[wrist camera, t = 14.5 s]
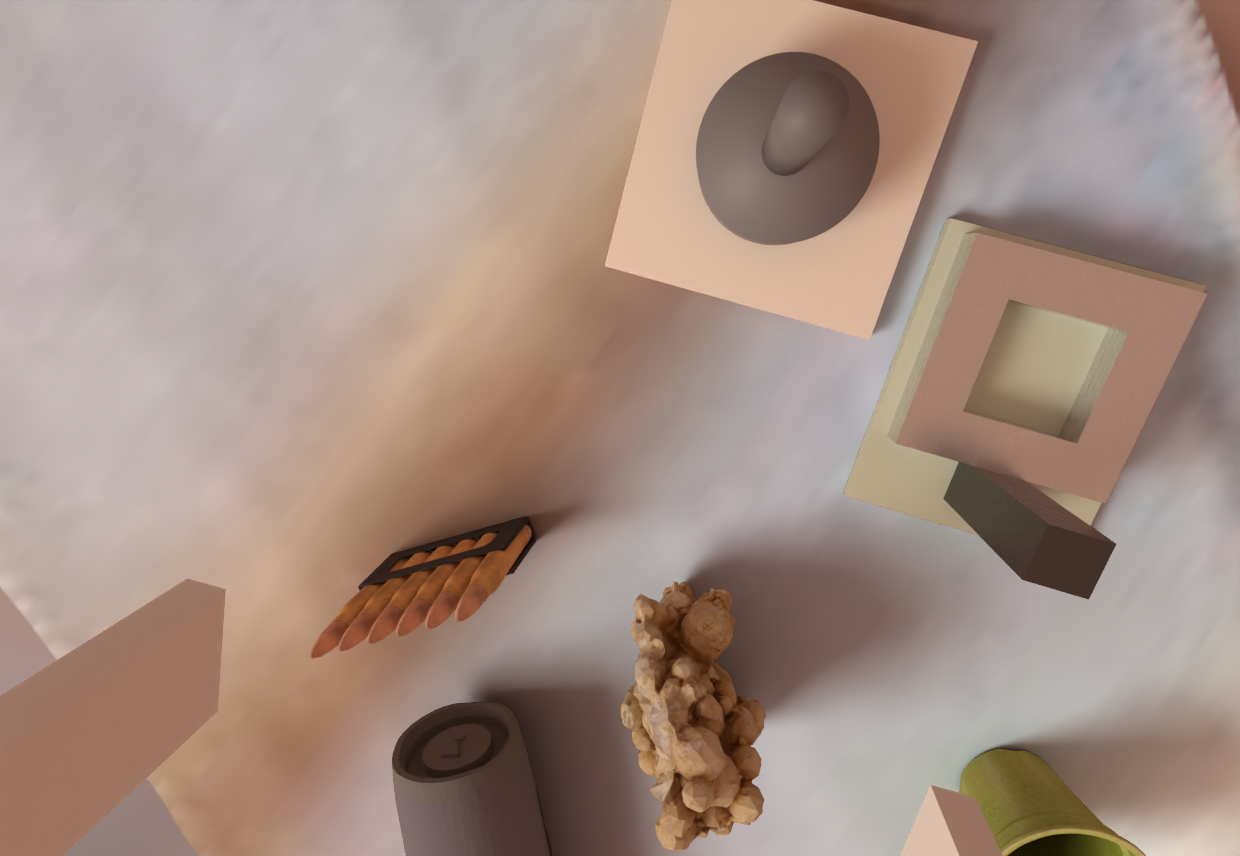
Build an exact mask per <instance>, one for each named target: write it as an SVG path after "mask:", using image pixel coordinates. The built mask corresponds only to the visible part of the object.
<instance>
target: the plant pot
mask: <svg viewBox="0 0 1240 856" xmlns="http://www.w3.org/2000/svg"><path fill="white" fill-rule="evenodd" d="M959 793H961V794H964V795H968V796H972V797H975V798H976V801H977V803H978V805H979V807H980V809H981V811H982V813H983V815H984V817H985V819H986V821H987V824H988V826H989V828H990V830H991V832H992V834H993V836H994V838H995V840H996V842H997V844H998V846H999V849H1000V851H1001V853H1002V855H1003V856H1146V855H1145V854H1144V853H1143V852H1142V851H1141V850H1140V849H1139V848H1138V847H1136V846H1135V845H1134V844H1132V843H1131V842H1129V841H1128V840H1126V839H1124V838H1122V837H1121V836H1119V835H1118V834H1116V833H1115V832H1114V831H1113V830H1111V829H1110V828H1108V827H1107V826H1105V825H1103V824H1102V822H1101V821H1100V820H1099V819H1098V818H1097V817H1096V816H1095V815H1094V814H1093V813H1092V812H1091V811H1090V810H1089V809H1088V808H1087V807H1086V806H1085V805H1084V804H1083V803H1082V802H1081V801H1080V799H1079V798H1078V797H1077V796H1076V795H1075V794H1074V793H1073V792H1072V791H1071V790H1070V789H1069V788H1068V787H1067V786H1066V784H1065V783H1064V782H1063V781H1062V780H1061V779H1060V778H1059V777H1058V776H1057V774H1056V773H1055V772H1054V771H1053V770H1052V769H1051V768H1050V767H1049V766H1048V765H1047V764H1046V762H1044V761H1043V760H1042V759H1041V758H1039V757H1038V756H1036V755H1034V754H1033V753H1030V752H1028V751H1025V750H1022V751H1011V750H1004V749H995V750H991V751H988V752H985V753H983V754H981V755H979V756H978V757H976V758H975V759H974V760H972V761H971V762H970V763H969V764H968V765H967V766H966V768H965V769H964V771H963V773H962V776H961V783H960V792H959Z"/></svg>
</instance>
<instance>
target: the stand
mask: <svg viewBox="0 0 1240 856" xmlns="http://www.w3.org/2000/svg"><path fill="white" fill-rule="evenodd" d="M977 44H978V41H975V40H971V39H966V38H962V37H958V36H954V35H950V34H946V33H942V32H938V31H934V30H930V29H926V28H922V27H918V26H914V25H910V24H906V23H902V22H898V21H894V20H890V19H886V18H882V17H878V16H874V15H870V14H866V13H862V12H858V11H854V10H850V9H846V8H842V7H838V6H834V5H830V4H826V3H822V2H818V1H814V0H672V2H671V6H670V10H669V14H668V18H667V22H666V26H665V30H664V34H663V38H662V42H661V45H660V49H659V53H658V57H657V61H656V65H655V69H654V73H653V77H652V81H651V85H650V89H649V93H648V97H647V101H646V105H645V109H644V113H643V117H642V121H641V125H640V129H639V133H638V137H637V141H636V145H635V148H634V152H633V156H632V160H631V164H630V168H629V172H628V176H627V180H626V184H625V188H624V192H623V196H622V200H621V204H620V208H619V212H618V216H617V220H616V224H615V228H614V232H613V236H612V240H611V244H610V247H609V251H608V255H607V259H606V263H605V266H606V267H610V268H613V269H617V270H621V271H624V272H628V273H631V274H635V275H638V276H642V277H646V278H649V279H653V280H656V281H660V282H664V283H667V284H671V285H674V286H678V287H682V288H685V289H689V290H692V291H696V292H700V293H703V294H707V295H710V296H714V297H718V298H721V299H725V300H728V301H732V302H735V303H739V304H743V305H746V306H750V307H753V308H757V309H761V310H764V311H768V312H771V313H775V314H779V315H782V316H786V317H789V318H793V319H797V320H800V321H804V322H807V323H811V324H815V325H818V326H822V327H825V328H829V329H832V330H836V331H840V332H843V333H847V334H850V335H854V336H858V337H861V338H865V339H868V340H870V338H871V335H872V332H873V330H874V327H875V324H876V321H877V319H878V316H879V313H880V310H881V308H882V305H883V302H884V299H885V297H886V294H887V291H888V288H889V286H890V283H891V280H892V277H893V275H894V272H895V269H896V266H897V264H898V261H899V258H900V255H901V253H902V250H903V247H904V244H905V242H906V239H907V236H908V233H909V231H910V228H911V225H912V222H913V220H914V217H915V214H916V211H917V209H918V206H919V203H920V200H921V198H922V195H923V192H924V189H925V187H926V184H927V181H928V178H929V176H930V173H931V170H932V167H933V165H934V162H935V159H936V156H937V154H938V151H939V148H940V145H941V143H942V140H943V137H944V134H945V132H946V129H947V126H948V123H949V121H950V118H951V115H952V112H953V110H954V107H955V104H956V101H957V99H958V96H959V93H960V90H961V88H962V85H963V82H964V79H965V77H966V74H967V71H968V68H969V66H970V63H971V60H972V57H973V55H974V52H975V49H976V46H977Z"/></svg>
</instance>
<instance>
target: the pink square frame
mask: <svg viewBox="0 0 1240 856" xmlns="http://www.w3.org/2000/svg"><path fill="white" fill-rule="evenodd" d="M1206 296H1207V293H1203V292H1199V291H1195V290H1192V289H1188V288H1184V287H1180V286H1177V285H1173V284H1169V283H1165V282H1162V281H1158V280H1154V279H1150V278H1146V277H1143V276H1139V275H1135V274H1131V273H1128V272H1124V271H1120V270H1116V269H1113V268H1109V267H1105V266H1101V265H1097V264H1094V263H1090V262H1086V261H1082V260H1079V259H1075V258H1071V257H1067V256H1064V255H1060V254H1056V253H1052V252H1048V251H1045V250H1041V249H1037V248H1033V247H1030V246H1026V245H1022V244H1018V243H1015V242H1011V241H1007V240H1003V239H999V238H996V237H992V236H988V235H984V234H981V233H970V234H964V236H963V238H962V241H961V243H960V246H959V249H958V251H957V254H956V256H955V259H954V262H953V264H952V267H951V269H950V272H949V275H948V277H947V280H946V282H945V285H944V288H943V290H942V293H941V296H940V298H939V301H938V303H937V306H936V309H935V311H934V314H933V316H932V319H931V322H930V324H929V327H928V329H927V332H926V335H925V337H924V340H923V342H922V345H921V348H920V350H919V353H918V355H917V358H916V361H915V363H914V366H913V368H912V371H911V374H910V376H909V379H908V381H907V384H906V387H905V389H904V392H903V394H902V397H901V400H900V402H899V405H898V407H897V410H896V413H895V415H894V418H893V420H892V423H891V426H890V428H889V431H888V434H887V436H888V437H889V438H890V439H891V440H892V441H893V442H894V443H895V444H899V445H902V446H906V447H909V448H913V449H916V450H920V451H923V452H927V453H930V454H934V455H937V456H940V457H944V458H947V459H951V460H954V461H958V465H957V467H956V470H955V472H954V474H953V477H952V479H951V481H950V484H949V486H948V489H947V491H946V493H945V496H944V498H943V499H944V500H945V501H946V502H947V503H948V504H949V505H950V506H951V507H952V508H953V509H954V510H955V511H956V512H957V513H958V514H959V515H960V516H961V517H962V518H963V520H964V521H965V522H966V523H967V524H968V525H969V526H970V527H971V528H972V529H973V530H974V531H975V532H976V533H977V534H978V535H979V536H980V537H981V538H982V539H983V540H984V541H985V542H986V543H987V544H988V545H989V546H990V547H991V548H992V549H993V550H994V551H995V552H996V553H997V554H998V555H999V556H1000V557H1001V558H1002V559H1003V560H1004V561H1005V562H1006V564H1007V565H1008V566H1009V567H1010V568H1011V569H1012V570H1013V571H1014V572H1015V573H1016V574H1017V575H1018V576H1019V577H1020V578H1021V579H1022V580H1025V581H1028V582H1032V583H1035V584H1039V585H1042V586H1045V587H1049V588H1052V589H1056V590H1059V591H1062V592H1066V593H1069V594H1072V595H1076V596H1079V597H1083V598H1086V599H1089V598H1090V596H1091V594H1092V592H1093V590H1094V588H1095V586H1096V584H1097V582H1098V580H1099V578H1100V576H1101V574H1102V572H1103V570H1104V568H1105V566H1106V564H1107V562H1108V560H1109V558H1110V556H1111V554H1112V552H1113V550H1114V548H1115V546H1116V543H1114V542H1113V541H1111V540H1110V539H1108V538H1107V537H1106V536H1104V535H1103V534H1101V533H1100V532H1098V531H1097V530H1096V529H1094V528H1093V527H1091V526H1090V525H1088V524H1087V523H1085V522H1084V521H1083V520H1081V519H1080V518H1078V517H1077V516H1075V515H1074V514H1073V513H1071V512H1070V511H1068V510H1067V509H1065V508H1064V507H1063V506H1061V505H1060V504H1058V503H1057V502H1055V501H1054V500H1052V499H1051V498H1050V497H1048V496H1047V495H1045V494H1044V493H1042V492H1041V491H1040V490H1038V489H1037V488H1035V487H1034V486H1032V485H1031V484H1030V483H1028V482H1031V483H1035V484H1038V485H1042V486H1045V487H1049V488H1052V489H1056V490H1059V491H1063V492H1066V493H1070V494H1073V495H1077V496H1080V497H1084V498H1087V499H1091V500H1094V501H1098V502H1101V503H1105V504H1106V502H1107V500H1108V498H1109V496H1110V494H1111V492H1112V490H1113V488H1114V486H1115V483H1116V481H1117V479H1118V477H1119V475H1120V473H1121V471H1122V469H1123V467H1124V465H1125V463H1126V461H1127V459H1128V457H1129V455H1130V453H1131V451H1132V449H1133V446H1134V444H1135V442H1136V440H1137V438H1138V436H1139V434H1140V432H1141V430H1142V428H1143V426H1144V424H1145V422H1146V420H1147V418H1148V416H1149V414H1150V412H1151V409H1152V407H1153V405H1154V403H1155V401H1156V399H1157V397H1158V395H1159V393H1160V391H1161V389H1162V387H1163V385H1164V383H1165V381H1166V379H1167V377H1168V375H1169V373H1170V370H1171V368H1172V366H1173V364H1174V362H1175V360H1176V358H1177V356H1178V354H1179V352H1180V350H1181V348H1182V346H1183V344H1184V342H1185V340H1186V338H1187V336H1188V333H1189V331H1190V329H1191V327H1192V325H1193V323H1194V321H1195V319H1196V317H1197V315H1198V313H1199V311H1200V309H1201V307H1202V305H1203V303H1204V301H1205V299H1206ZM1008 301H1010V302H1013V303H1017V304H1021V305H1025V306H1028V307H1032V308H1036V309H1039V310H1043V311H1047V312H1050V313H1054V314H1058V315H1061V316H1065V317H1069V318H1073V319H1076V320H1080V321H1084V322H1087V323H1091V324H1095V325H1098V326H1102V327H1106V328H1108V329H1107V331H1106V334H1105V336H1104V338H1103V340H1102V342H1101V345H1100V347H1099V349H1098V351H1097V353H1096V356H1095V358H1094V360H1093V362H1092V364H1091V367H1090V369H1089V371H1088V373H1087V375H1086V378H1085V380H1084V382H1083V384H1082V386H1081V389H1080V391H1079V393H1078V395H1077V397H1076V400H1075V402H1074V404H1073V406H1072V408H1071V411H1070V413H1069V415H1068V417H1067V419H1066V422H1065V424H1064V426H1063V428H1062V430H1061V433H1060V435H1058V434H1055V433H1051V432H1048V431H1044V430H1041V429H1037V428H1034V427H1030V426H1026V425H1023V424H1019V423H1016V422H1012V421H1009V420H1005V419H1002V418H998V417H994V416H991V415H987V414H984V413H980V412H977V411H973V410H970V409H966V408H964V407H965V405H966V402H967V400H968V397H969V395H970V392H971V390H972V388H973V385H974V383H975V380H976V378H977V375H978V373H979V371H980V368H981V366H982V363H983V361H984V358H985V356H986V354H987V351H988V349H989V346H990V344H991V341H992V339H993V336H994V334H995V332H996V329H997V327H998V324H999V322H1000V319H1001V317H1002V315H1003V312H1004V310H1005V307H1006V305H1007V302H1008ZM1027 481H1028V482H1027Z"/></svg>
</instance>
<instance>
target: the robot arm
mask: <svg viewBox="0 0 1240 856" xmlns="http://www.w3.org/2000/svg"><path fill="white" fill-rule="evenodd" d="M225 590H226V589H223V588H219V587H215V586H212V585H208V584H205V583H201V582H197V581H194V580H190V579H186V580H185V581H183V582H181V583H180V584H178V585H177V586H175V587H174V588H172V589H170V590H169V591H167V592H166V593H164V594H162V595H161V596H159V597H158V598H156V599H154V600H153V601H151V602H150V603H148V604H146V605H145V606H143V607H142V608H140V609H138V610H137V611H135V612H134V613H132V614H130V615H129V616H127V617H126V618H124V619H122V620H121V621H119V622H118V623H116V624H114V625H113V626H111V627H110V628H108V629H107V630H105V631H103V632H102V633H100V634H99V635H97V636H95V637H94V638H92V639H91V640H89V641H87V642H86V643H84V644H83V645H81V646H79V647H78V648H76V649H75V650H73V651H71V652H70V653H68V654H67V655H65V656H63V657H62V658H60V659H59V660H57V661H56V662H54V663H52V664H51V665H49V666H47V667H46V668H44V669H43V670H41V671H40V672H38V673H36V674H35V675H33V676H32V677H30V678H28V679H27V680H25V681H24V682H22V683H20V684H19V685H17V686H16V687H14V688H13V689H11V690H9V691H8V692H6V693H5V694H3V695H1V696H0V856H63V855H64V854H65V853H66V852H68V850H70V849H71V848H72V847H73V846H74V845H75V844H76V843H77V842H78V841H79V840H80V839H81V838H82V837H84V836H85V835H86V834H87V833H88V832H89V831H90V830H91V829H92V828H93V827H94V826H95V825H96V824H98V823H99V822H100V821H101V820H102V819H103V818H104V817H105V816H106V815H107V814H108V813H109V812H110V811H111V810H112V809H114V808H115V807H116V806H117V805H118V804H119V803H120V802H121V801H122V800H123V799H124V798H125V797H126V796H127V795H129V794H130V793H131V792H132V791H133V790H134V789H135V788H136V787H137V786H138V785H139V784H140V783H141V782H143V781H144V780H145V779H146V778H147V777H148V776H149V775H150V774H151V773H152V772H153V771H154V770H155V769H156V768H158V767H159V766H160V765H161V764H162V763H163V762H164V761H165V760H166V759H167V758H168V757H169V756H170V755H171V754H173V753H174V752H175V751H176V750H177V749H178V748H179V747H180V746H181V745H182V744H183V743H184V742H185V741H186V740H188V739H189V738H190V737H191V736H192V735H193V734H194V733H195V732H196V731H197V730H198V729H199V728H200V727H201V726H203V725H204V724H205V723H206V722H207V721H208V720H209V719H210V718H211V717H212V716H213V715H214V714H215V713H216V712H217V711H218V696H219V681H220V665H221V650H222V635H223V620H224V605H225ZM901 856H1003V855H1002V853H1001V851H1000V849H999V846H998V844H997V842H996V840H995V838H994V836H993V834H992V832H991V830H990V828H989V826H988V824H987V821H986V819H985V817H984V815H983V813H982V811H981V809H980V807H979V805H978V803H977V801H976V798H975V797H972V796H968V795H964V794H961V793H957V792H954V791H950V790H946V789H943V788H939V787H936V786H932V785H930V788H929V790H928V792H927V795H926V797H925V799H924V802H923V804H922V806H921V809H920V811H919V813H918V816H917V818H916V821H915V823H914V825H913V828H912V830H911V832H910V835H909V837H908V839H907V842H906V844H905V846H904V849H903V851H902V853H901Z"/></svg>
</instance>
